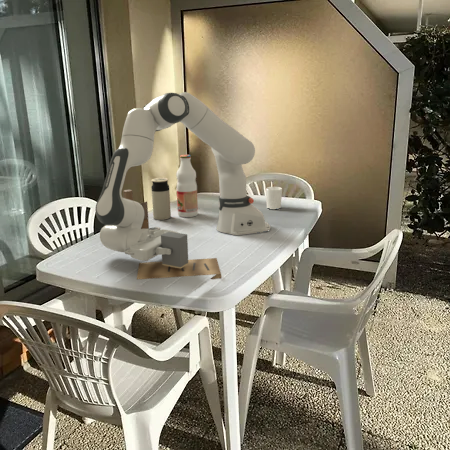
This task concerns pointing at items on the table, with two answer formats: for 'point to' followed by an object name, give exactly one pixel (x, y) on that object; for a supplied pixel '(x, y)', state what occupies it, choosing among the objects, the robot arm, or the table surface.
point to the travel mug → (161, 199)
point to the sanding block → (175, 249)
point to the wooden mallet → (129, 195)
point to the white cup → (273, 197)
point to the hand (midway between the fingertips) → (176, 248)
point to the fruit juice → (186, 188)
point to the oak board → (191, 269)
